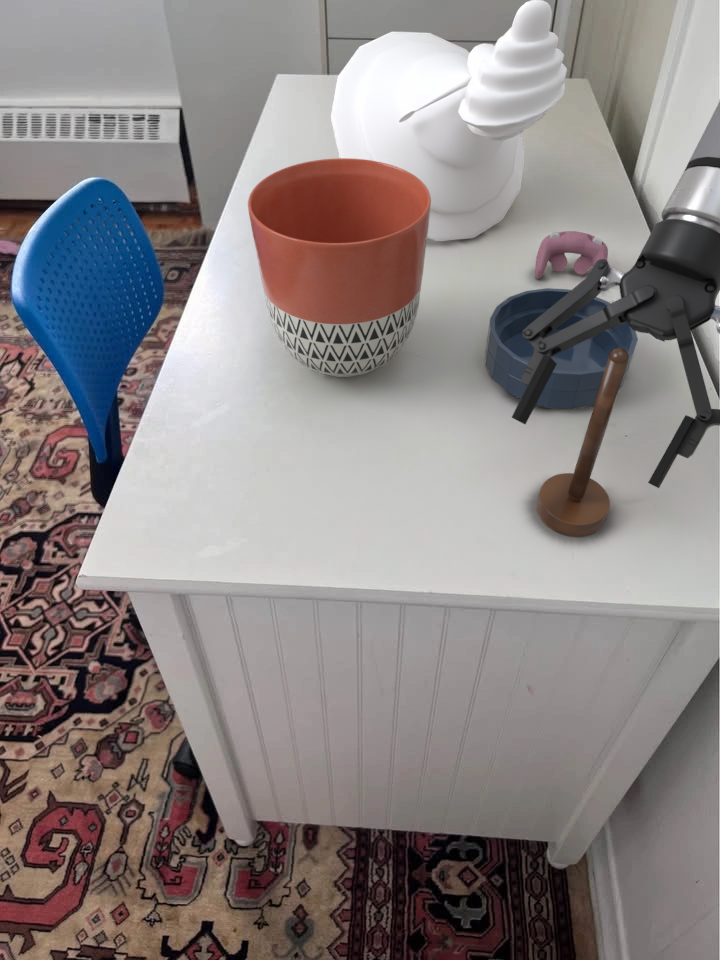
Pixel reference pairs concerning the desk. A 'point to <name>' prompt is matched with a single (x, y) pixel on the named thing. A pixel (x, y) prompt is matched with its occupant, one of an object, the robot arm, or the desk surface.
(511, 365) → the bowl
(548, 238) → the video game controller
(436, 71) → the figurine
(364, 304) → the planter
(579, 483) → the masher
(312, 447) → the desk surface
